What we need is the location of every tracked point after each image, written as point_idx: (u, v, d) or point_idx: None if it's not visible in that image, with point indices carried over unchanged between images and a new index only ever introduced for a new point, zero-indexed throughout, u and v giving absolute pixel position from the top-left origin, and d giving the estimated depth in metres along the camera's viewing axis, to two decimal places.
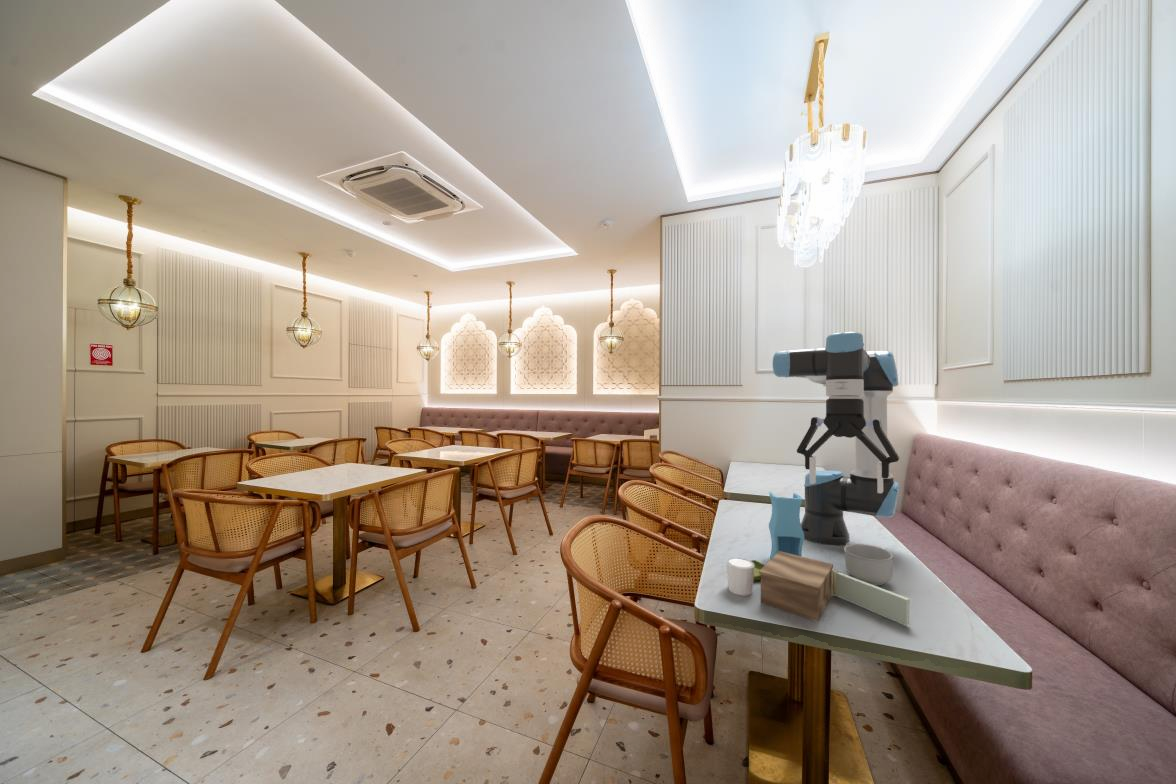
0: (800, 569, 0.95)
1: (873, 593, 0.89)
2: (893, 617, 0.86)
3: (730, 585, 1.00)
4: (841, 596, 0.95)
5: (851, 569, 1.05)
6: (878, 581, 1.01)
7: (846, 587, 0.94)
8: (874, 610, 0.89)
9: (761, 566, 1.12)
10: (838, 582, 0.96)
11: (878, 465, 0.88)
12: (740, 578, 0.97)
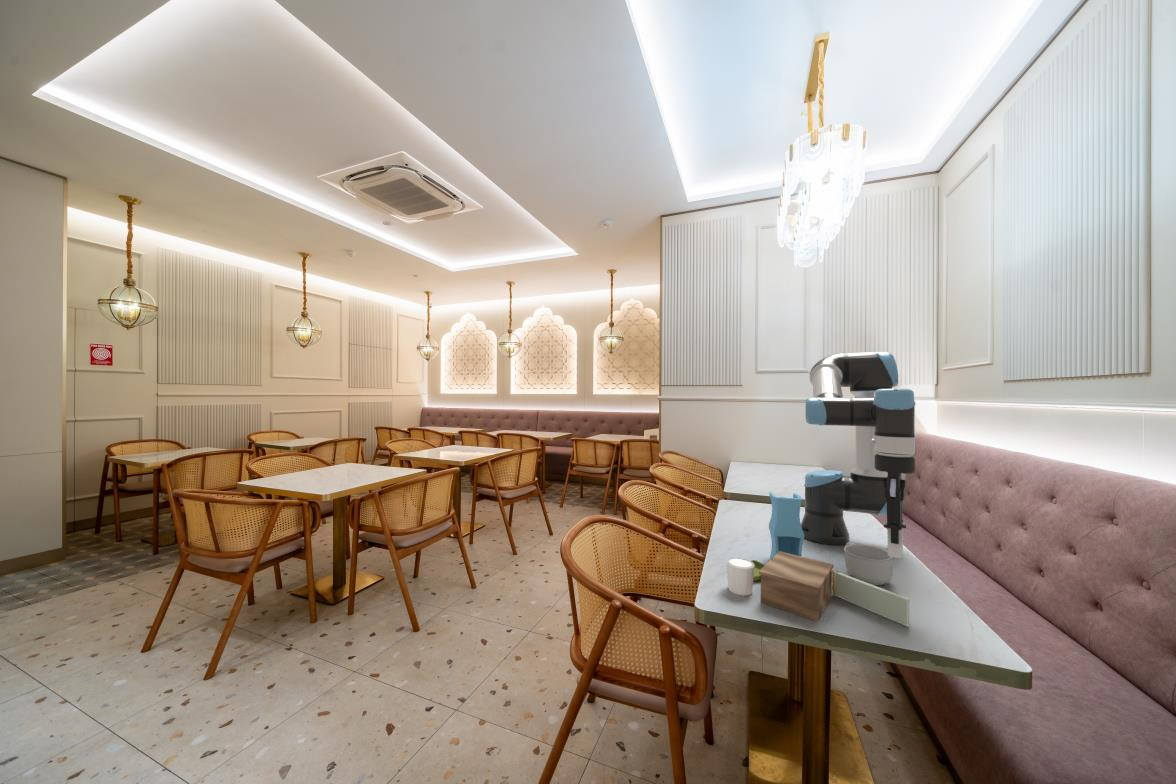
0: (800, 569, 0.95)
1: (873, 593, 0.89)
2: (893, 617, 0.86)
3: (730, 585, 1.00)
4: (841, 596, 0.95)
5: (851, 569, 1.05)
6: (878, 581, 1.01)
7: (846, 587, 0.94)
8: (874, 610, 0.89)
9: (761, 566, 1.12)
10: (838, 582, 0.96)
11: None
12: (740, 578, 0.97)
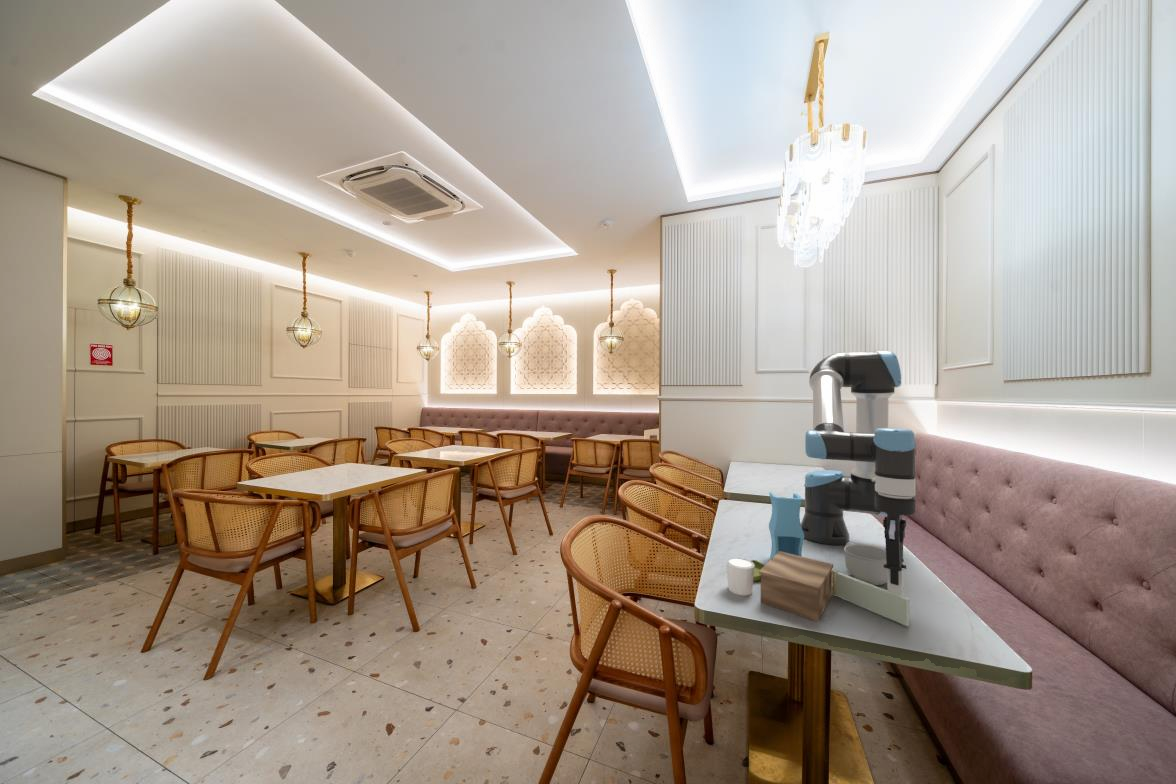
0: (800, 569, 0.95)
1: (873, 593, 0.89)
2: (893, 617, 0.86)
3: (730, 585, 1.00)
4: (841, 596, 0.95)
5: (851, 569, 1.05)
6: (878, 581, 1.01)
7: (846, 587, 0.94)
8: (874, 610, 0.89)
9: (761, 566, 1.12)
10: (838, 582, 0.96)
11: (887, 568, 0.92)
12: (740, 578, 0.97)
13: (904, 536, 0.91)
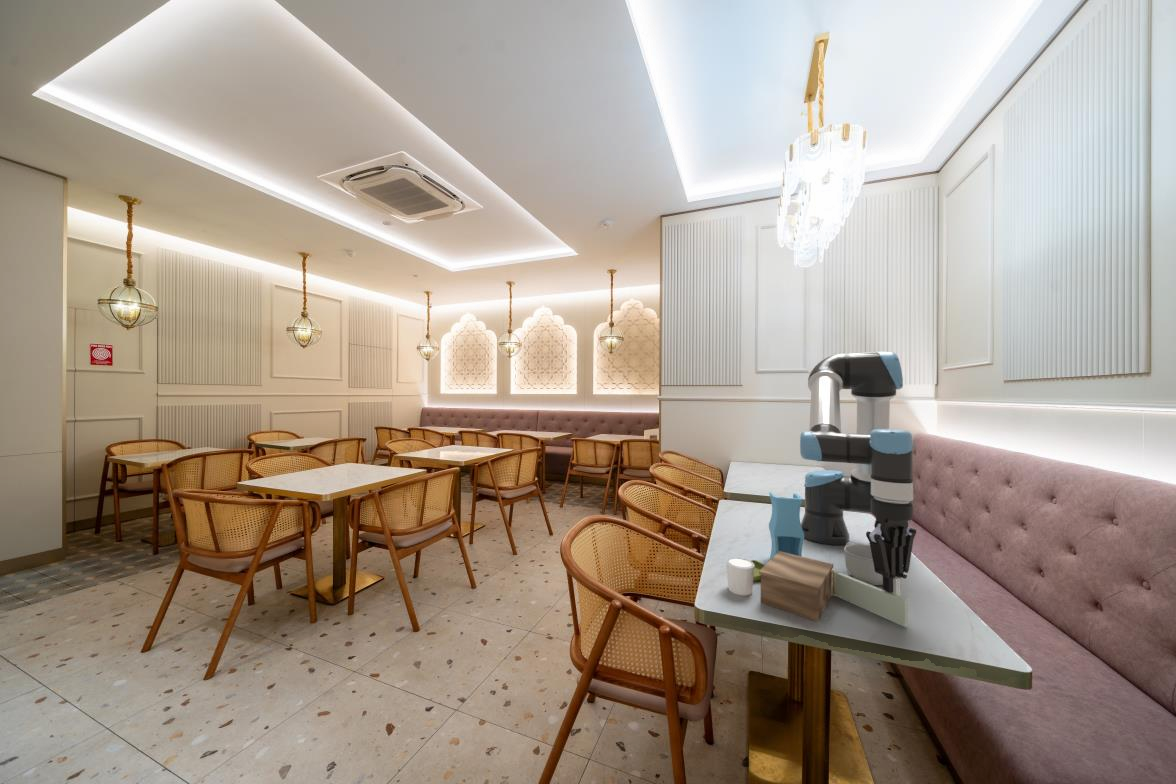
0: (800, 569, 0.95)
1: (871, 593, 0.89)
2: (891, 617, 0.86)
3: (730, 585, 1.00)
4: (841, 596, 0.95)
5: (851, 569, 1.05)
6: (878, 581, 1.01)
7: (846, 587, 0.94)
8: (873, 610, 0.89)
9: (761, 566, 1.12)
10: (838, 582, 0.96)
11: None
12: (740, 578, 0.97)
13: (903, 544, 0.86)
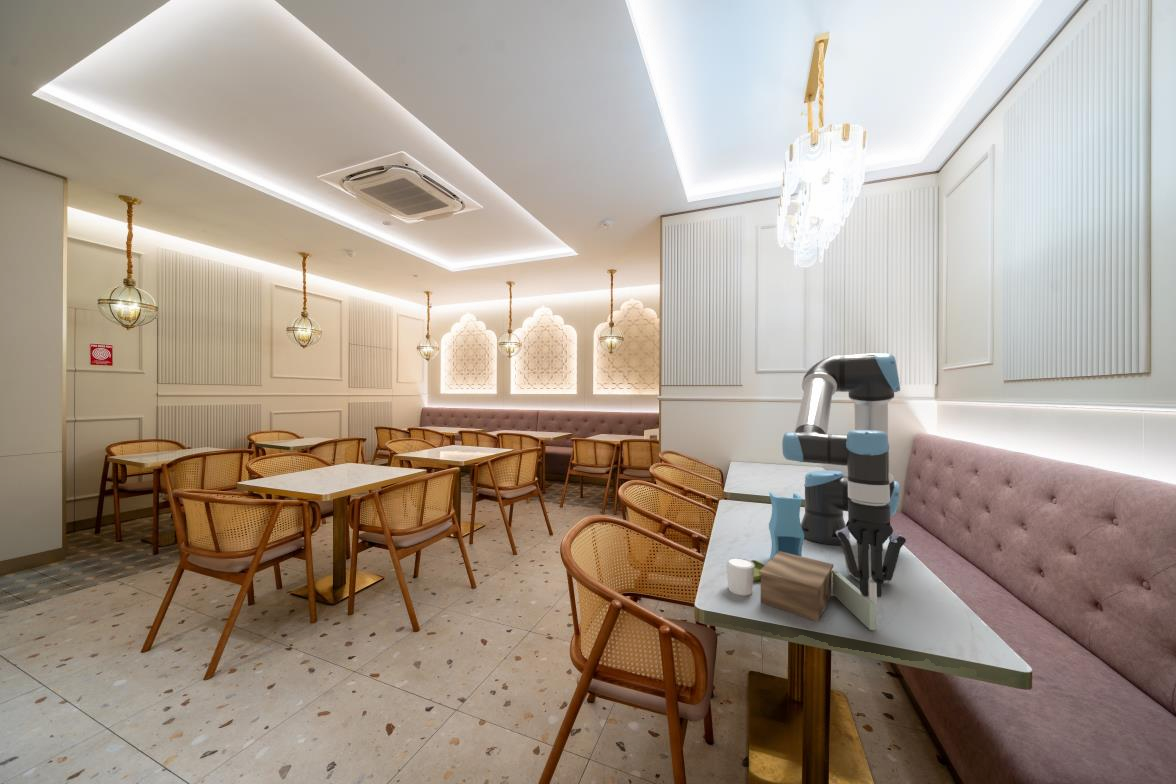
0: (800, 569, 0.95)
1: (852, 594, 0.89)
2: (862, 620, 0.85)
3: (730, 585, 1.00)
4: (836, 596, 0.96)
5: None
6: None
7: (839, 587, 0.95)
8: (853, 612, 0.89)
9: (761, 566, 1.12)
10: (835, 582, 0.96)
11: None
12: (740, 578, 0.97)
13: (878, 548, 0.84)
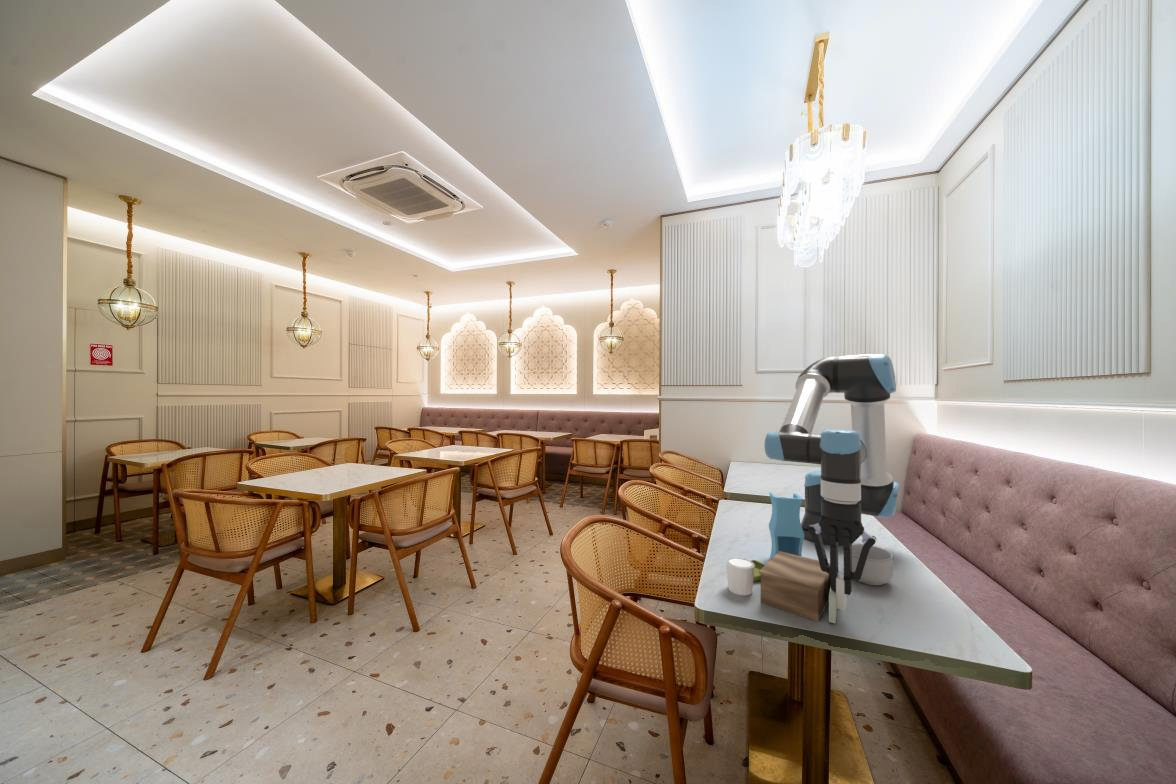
0: (800, 569, 0.95)
1: None
2: None
3: (730, 585, 1.00)
4: None
5: None
6: (878, 581, 1.01)
7: None
8: None
9: (761, 566, 1.12)
10: None
11: None
12: (740, 578, 0.97)
13: (845, 546, 0.85)
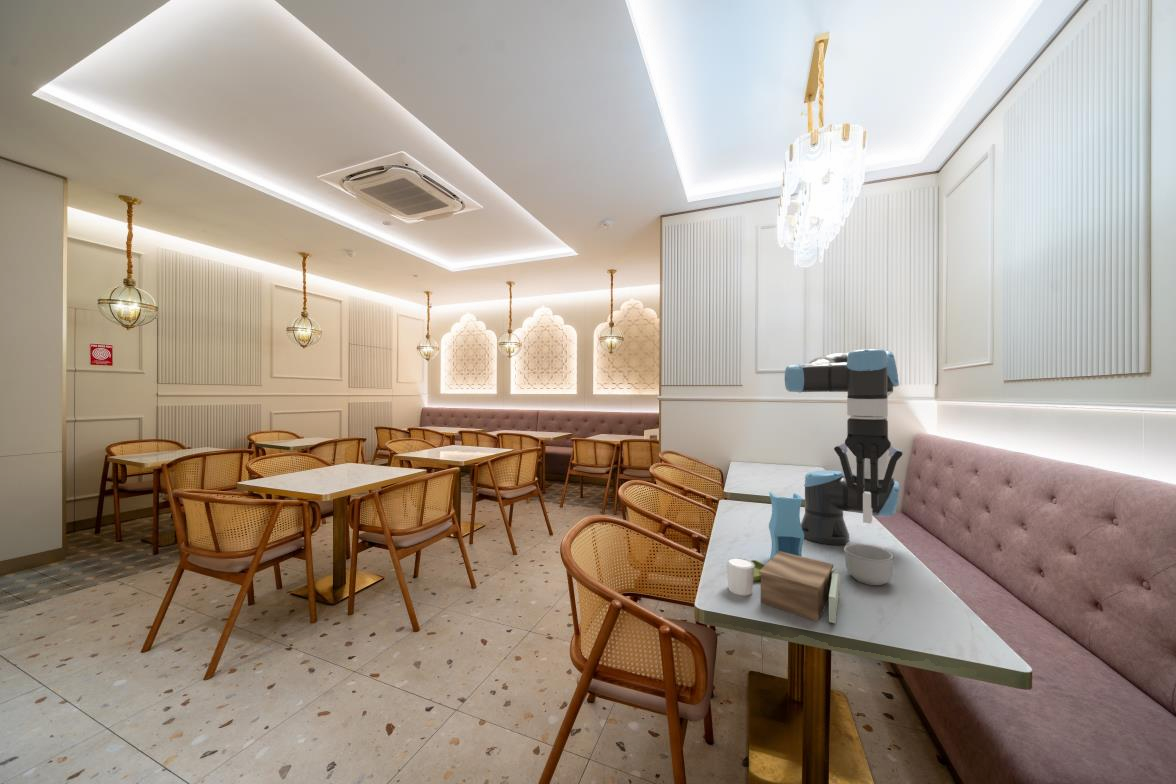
0: (800, 569, 0.95)
1: None
2: None
3: (730, 585, 1.00)
4: None
5: (851, 569, 1.05)
6: (878, 581, 1.01)
7: None
8: None
9: (761, 566, 1.12)
10: None
11: None
12: (740, 578, 0.97)
13: (872, 461, 0.88)
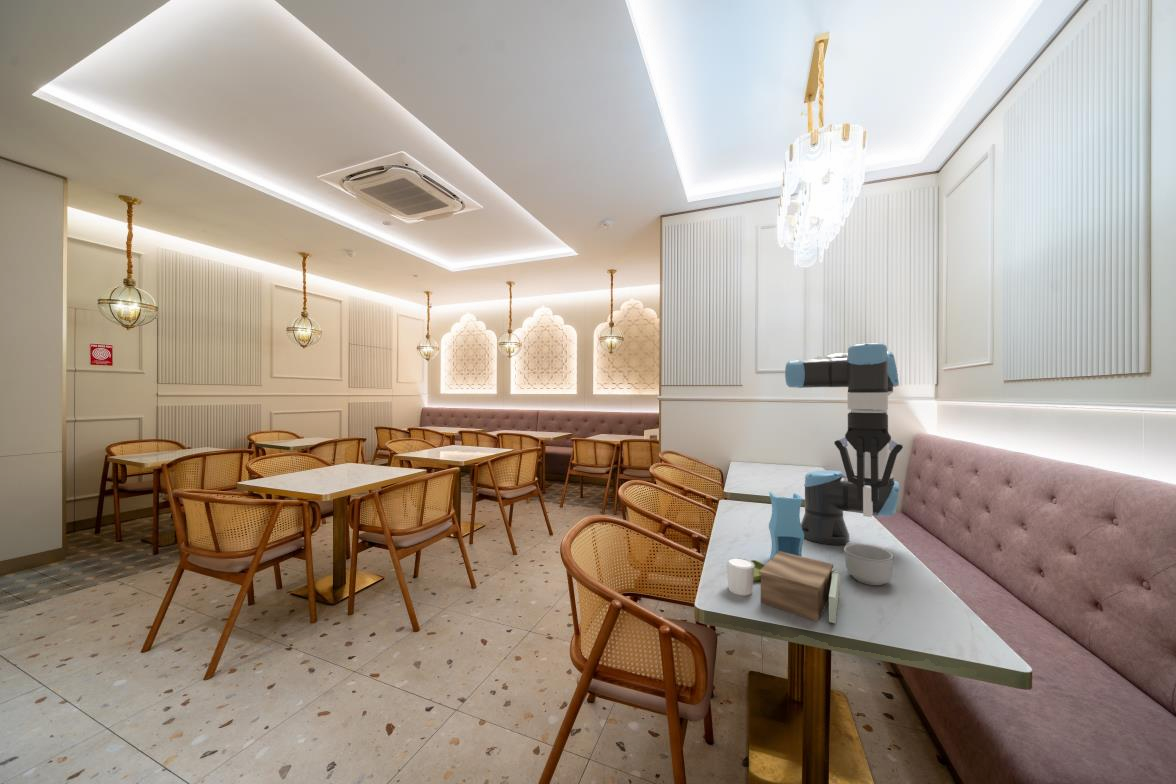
0: (800, 569, 0.95)
1: None
2: None
3: (730, 585, 1.00)
4: None
5: (851, 569, 1.05)
6: (878, 581, 1.01)
7: None
8: None
9: (761, 566, 1.12)
10: None
11: None
12: (740, 578, 0.97)
13: (872, 454, 0.88)
